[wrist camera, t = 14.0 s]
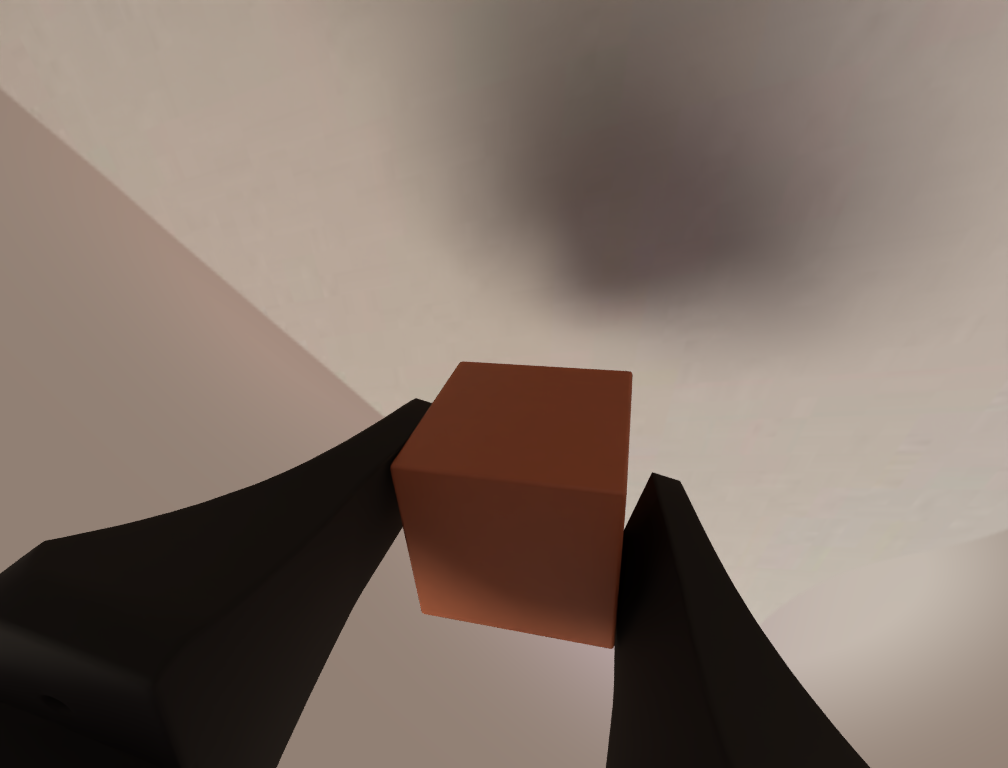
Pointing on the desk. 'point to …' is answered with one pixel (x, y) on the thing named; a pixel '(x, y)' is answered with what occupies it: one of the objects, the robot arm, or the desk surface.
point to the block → (520, 499)
